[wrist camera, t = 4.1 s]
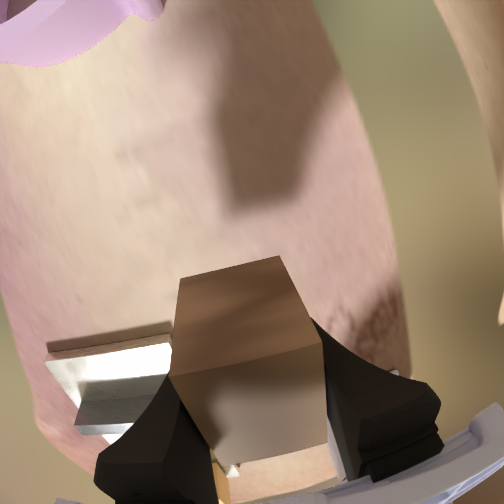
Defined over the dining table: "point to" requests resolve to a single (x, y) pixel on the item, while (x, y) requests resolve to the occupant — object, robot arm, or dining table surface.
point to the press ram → (221, 484)
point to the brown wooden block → (249, 362)
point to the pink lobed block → (64, 28)
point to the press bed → (115, 384)
